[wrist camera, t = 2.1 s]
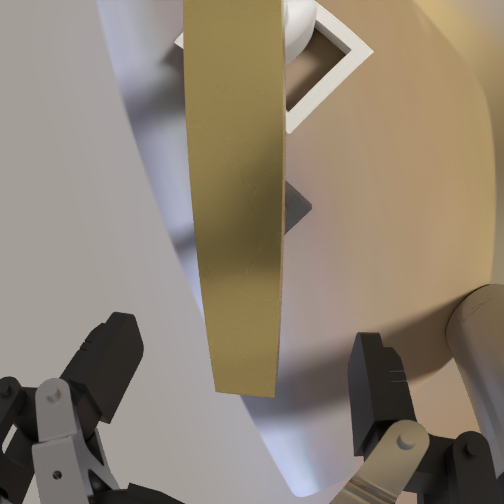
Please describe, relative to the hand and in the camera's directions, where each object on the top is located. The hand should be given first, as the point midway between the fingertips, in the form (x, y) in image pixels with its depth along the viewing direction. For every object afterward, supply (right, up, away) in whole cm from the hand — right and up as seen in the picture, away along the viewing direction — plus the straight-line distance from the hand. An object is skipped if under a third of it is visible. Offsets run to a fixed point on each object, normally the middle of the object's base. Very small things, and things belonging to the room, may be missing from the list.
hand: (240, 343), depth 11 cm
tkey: (+2, +12, +9) cm, 15 cm away
